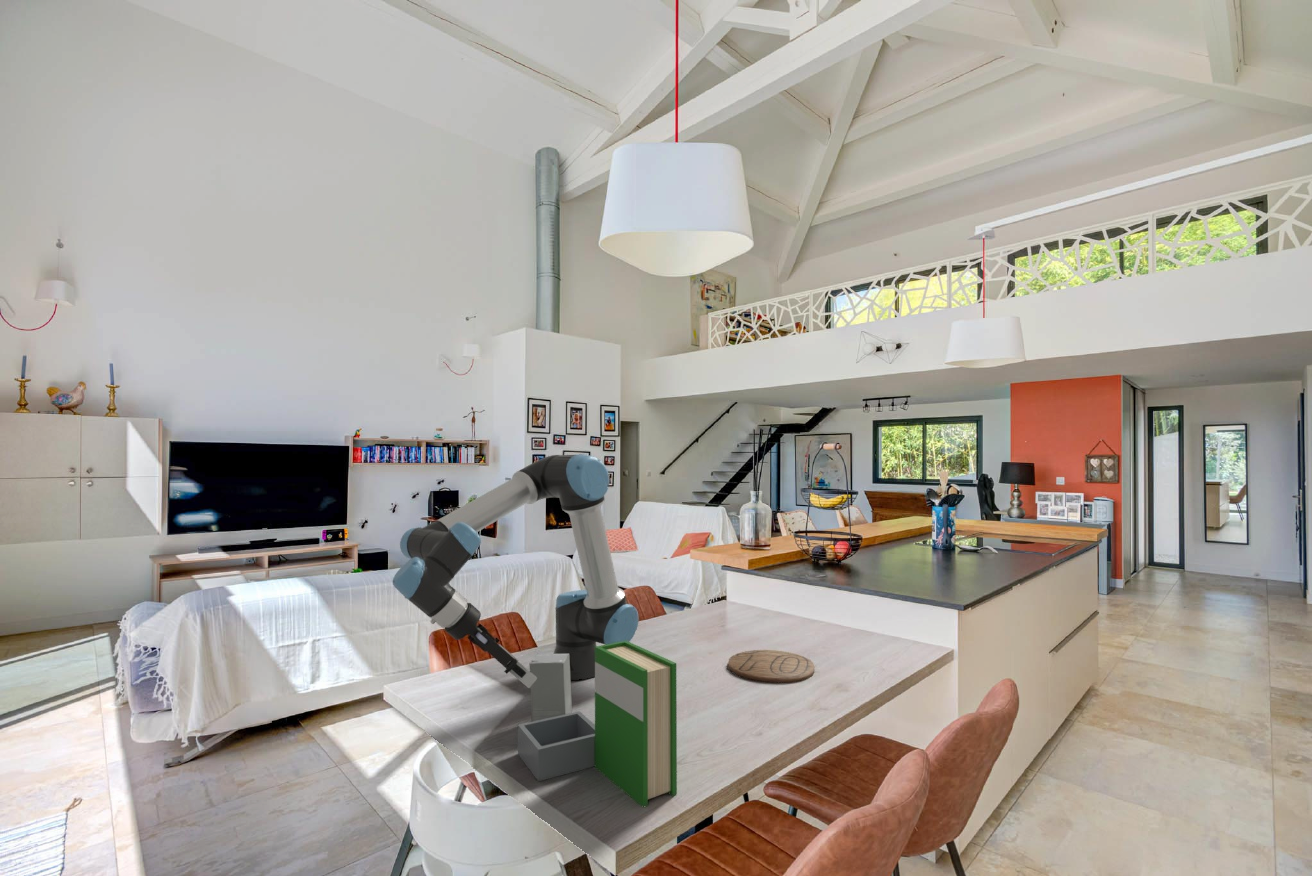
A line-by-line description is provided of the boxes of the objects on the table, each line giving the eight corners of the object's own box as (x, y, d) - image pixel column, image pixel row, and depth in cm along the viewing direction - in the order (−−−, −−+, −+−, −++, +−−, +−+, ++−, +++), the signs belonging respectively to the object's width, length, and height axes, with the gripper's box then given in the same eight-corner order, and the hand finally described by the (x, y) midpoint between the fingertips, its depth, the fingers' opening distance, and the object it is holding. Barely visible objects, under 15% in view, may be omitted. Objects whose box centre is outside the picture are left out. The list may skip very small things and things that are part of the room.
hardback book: (676, 794, 116) (676, 663, 116) (643, 807, 111) (643, 671, 112) (626, 757, 130) (626, 640, 131) (594, 767, 126) (594, 646, 127)
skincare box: (572, 719, 149) (572, 652, 149) (565, 732, 142) (565, 661, 142) (537, 718, 150) (537, 651, 150) (528, 731, 143) (528, 660, 143)
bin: (517, 753, 132) (517, 724, 132) (579, 738, 139) (579, 711, 139) (538, 781, 120) (538, 749, 120) (604, 763, 127) (604, 733, 127)
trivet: (720, 679, 176) (720, 672, 176) (736, 653, 200) (736, 647, 200) (812, 688, 169) (811, 681, 169) (816, 660, 193) (816, 654, 193)
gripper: (432, 616, 145) (496, 671, 152) (455, 644, 123) (529, 706, 130) (456, 591, 148) (518, 645, 155) (482, 613, 126) (553, 676, 133)
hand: (523, 673), depth 142 cm, fingers open, 13 cm apart
